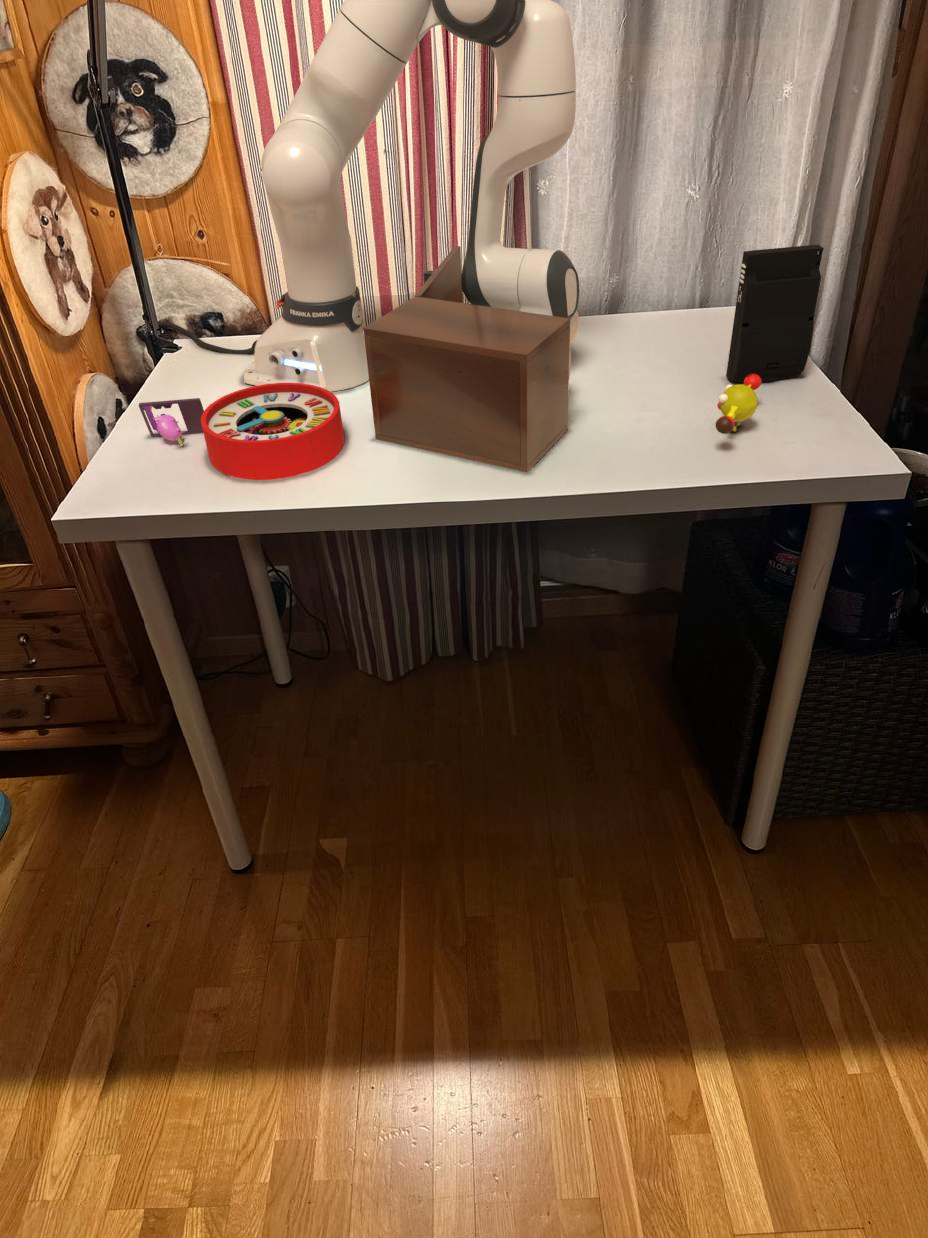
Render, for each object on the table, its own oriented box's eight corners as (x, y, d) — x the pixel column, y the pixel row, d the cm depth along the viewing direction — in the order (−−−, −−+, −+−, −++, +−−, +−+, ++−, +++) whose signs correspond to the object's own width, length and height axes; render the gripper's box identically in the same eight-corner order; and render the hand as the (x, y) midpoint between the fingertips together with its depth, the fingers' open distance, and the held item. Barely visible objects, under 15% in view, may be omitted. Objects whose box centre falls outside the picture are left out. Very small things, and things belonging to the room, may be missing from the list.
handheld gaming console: (794, 369, 151) (817, 243, 139) (806, 381, 147) (831, 251, 135) (723, 377, 150) (740, 250, 138) (733, 388, 146) (752, 259, 134)
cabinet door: (390, 397, 149) (380, 294, 139) (431, 340, 168) (424, 245, 158) (428, 400, 148) (420, 295, 137) (464, 341, 167) (460, 245, 156)
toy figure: (730, 401, 143) (736, 359, 139) (767, 407, 141) (774, 364, 136) (697, 452, 130) (703, 407, 126) (736, 459, 128) (743, 414, 124)
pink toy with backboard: (199, 394, 137) (138, 399, 137) (198, 419, 134) (135, 424, 134) (210, 426, 143) (152, 431, 142) (209, 451, 140) (149, 456, 140)
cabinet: (423, 402, 147) (415, 296, 137) (567, 431, 137) (570, 318, 127) (375, 439, 138) (363, 328, 127) (527, 473, 128) (526, 354, 117)
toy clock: (367, 408, 133) (248, 457, 122) (371, 445, 136) (256, 495, 126) (289, 371, 145) (175, 412, 135) (295, 406, 148) (184, 448, 138)
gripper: (460, 325, 147) (416, 356, 138) (579, 343, 139) (541, 377, 129) (462, 363, 151) (419, 396, 141) (578, 383, 143) (541, 419, 133)
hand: (478, 387), depth 135 cm, fingers closed on supplement bottle, 5 cm apart
